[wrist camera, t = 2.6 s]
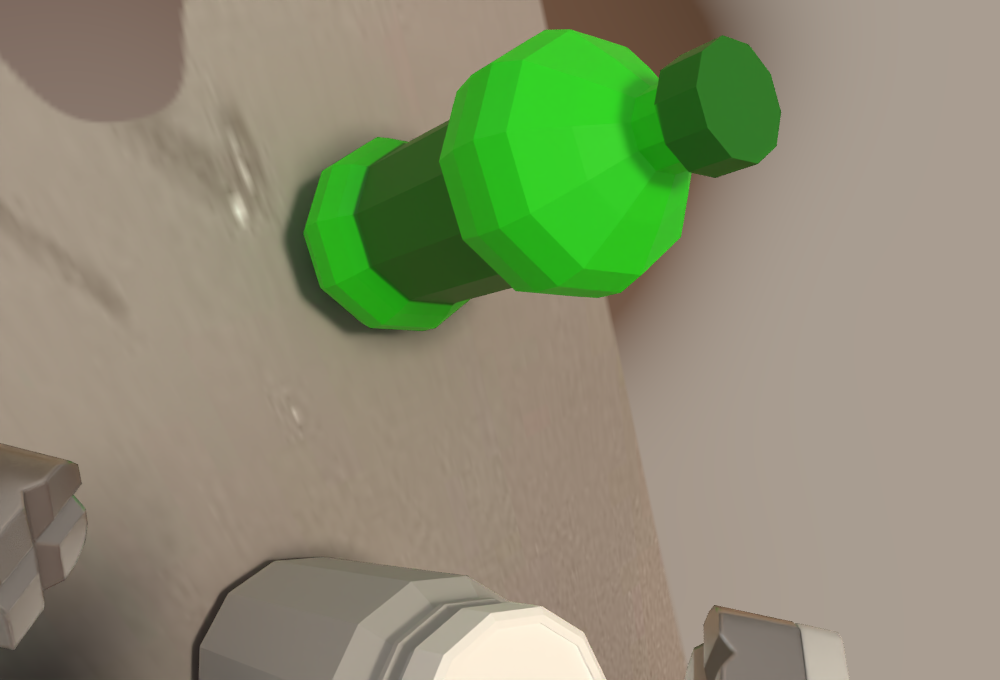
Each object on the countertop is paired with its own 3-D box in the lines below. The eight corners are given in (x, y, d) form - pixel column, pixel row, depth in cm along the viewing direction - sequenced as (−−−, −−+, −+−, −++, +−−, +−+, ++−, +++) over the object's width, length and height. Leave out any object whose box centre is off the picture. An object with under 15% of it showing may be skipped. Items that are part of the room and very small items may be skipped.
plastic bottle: (388, 384, 50) (782, 319, 31) (233, 255, 46) (576, 83, 26) (472, 246, 55) (862, 112, 35) (338, 117, 50) (698, -119, 31)
